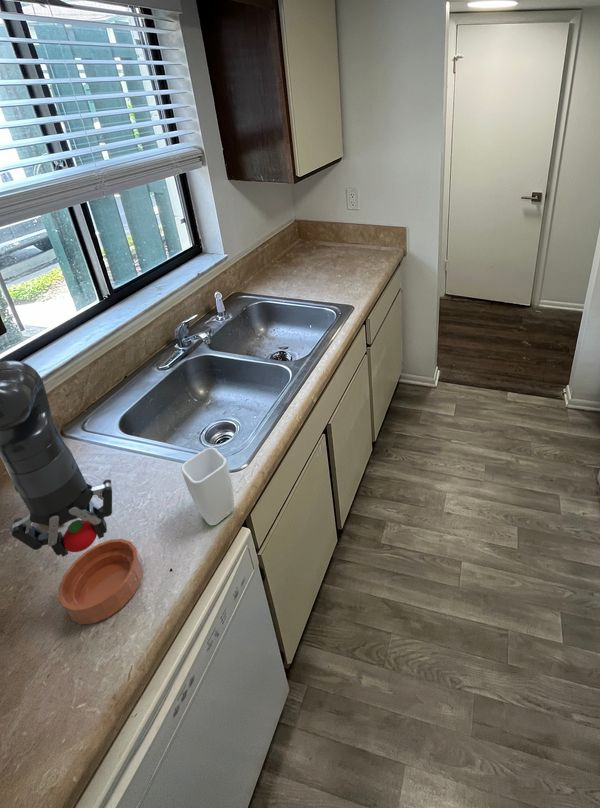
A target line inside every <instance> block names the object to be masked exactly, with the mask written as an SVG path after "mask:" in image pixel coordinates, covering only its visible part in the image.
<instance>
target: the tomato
mask: <svg viewBox="0 0 600 808" xmlns="http://www.w3.org/2000/svg"><path fill="white" fill-rule="evenodd" d="M97 537H98V536H97V534H96V532H95V530H94V528H93V524H92V523H90V522H89V521H83V520H82V519H75V520H74V521H72V522H71V523H70V524H69V525H68V526H67V529H66V530H65V532H64V534H63V545H64V547H65V549H67V550H68V552H71V553H79V552H82V551H85V550H86V549H88V548H89V547H90V546H92V544H94V542H95V540H96V538H97Z"/></svg>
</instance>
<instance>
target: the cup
mask: <svg viewBox="0 0 600 808" xmlns="http://www.w3.org/2000/svg"><path fill="white" fill-rule="evenodd" d="M229 469H230V468H229V466H228V461H227V459H226V457H225V456H224V455H222V454H221V452H220V451H219V450H217V448H215V447H212V446H211V447H207V448H205V449H203V450H201V451H200V452H198V453H196V454H195V455H194V456H192V457H191V458H189V459H187V460H186V461H185V462H184V463H182V465H181V467H180V471H181V473H182V477H183V479H184V482H185V486H186V488H187V490H188V492H189V494H190V497H191V499H192V501H193V503H194V505H195V507H196V509H197V510H198V512H199V514H200V516H201V517H202V518H203V519H204V521H205V522H206V523H207V524H208V525H209V526H216V525H218V524H219V523H220V522H221V521H222V520H224V519H225V518H226V517H228V516H229V515H230V514H232V513H233V512H234V510H235V497H234V496H235V495H234V488H233V487H234V486H233V482H232V477H231V473H230V470H229Z"/></svg>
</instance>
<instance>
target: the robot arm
mask: <svg viewBox="0 0 600 808" xmlns="http://www.w3.org/2000/svg"><path fill="white" fill-rule="evenodd" d="M50 408H51V407H50V403H49V398H48V395H47V390H46V386H45V383H44V381H43V379H42V377H41V375H40V374H39V372H38V371H37V370H36V369H35V368H34V367H33V366H31V365H30V364H28V363H25V362H23V361H20V360H19V361H18V360H4V361H0V460H1V461H2V463H3V464H5V465H4V467H5V466H6V467H5V469H6V468H7V469H6V471H7V470H8V471H9V474H10V476H9V478H10V477H11V478H10V480H11V483H12V485H13V487H14V489H15V491H16V492H17V493H18V495H19V496H20V497H21V500H22V501H23V503H24V505H25V507H26V508H27V509H28V511H29V514H28V515H26V516H25V517H24V518H23V517H17V518H14V520H13V522H12V528H11V536H12V537H14V538H15V539H17V540H18V541H20V542H21V543H23V544H25V545H26V546H28V547H29V548H31V549H33V550H34V551H36V550H40V549H41V548H42V547H43V546H46V545H48V546H49V547H50V548H51V549H52V551H53V553H54V554H55V555H56V556H58V557H59V556H60V555H61V557H65V556H67V555H69V551H68V550H67V549H65V547H64V545H63V537H64V534H63V533H62V531H59V527H62V526H64V525H63V524H65V523H67V522H68V521H69V522H70V521H73V520H77V519H79V520H83V521H89V522H90V523H92V524H93V528H94V530H95V532H96V534H97V536H96V537H98V539H99V540H101V539H103V538H105V534H107V531H108V527H107V522H106V520H105V518H107V517H110V516H111V515H112V514H113V485H112V479H105V480H104V481H102V484H99V485H95V486H93V485H91V484H89V483H87V482H86V480H85V477H84V475H83V473H82V471H81V469H80V467H79V464H78V462H77V461H76V459H75V457H74V455H73V453H72V451H71V449H70V448H69V447H68V445H67V444H66V443H65V441H64V440H63V437H62V435H61V434H60V433H61V432H60V431H59V428H58V427H57V426H56V424H55V422H54V420H53V417H52V412H51V409H50ZM8 471H7V472H8ZM9 474H8V475H9ZM93 496H96V497H97V499H99V500H102V506H100V507H98V506H97V505H95V504H94V503H93V501H92V498H93ZM69 522H68V523H69ZM33 523H34V524H38V525H45V526H48V531H47V532H43V531H42V530H41V529H39V528H38V527H36V526H34V525H33ZM68 523H67V524H68Z"/></svg>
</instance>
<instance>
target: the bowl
mask: <svg viewBox="0 0 600 808" xmlns="http://www.w3.org/2000/svg"><path fill="white" fill-rule="evenodd" d="M144 572H145V571H144V562H143V560H142V558H141V555H140V554H139V551H138V549H137V547H136V546H135V545H134V544H133V542H132V541H130V540H126V539H124V538H115V539H109V540H107V541H103V542H100V543H98V544H96V545H94V546H93V547H91V548H89V549H87V550H86V551H84V552H83V554H81V555H80V556H79V557H78V558H77V559H76V560H75V561H73V562H72V564H71V565H70V566H69V568H68V569H67V570H66V571H65V573H64V574H63V575H62V579H61V581H60V584H59V586H58V595H57V597H58V598H57V599H58V600H59V602H60V604H61V607H63V609H64V610H65V612H66V614H67V616H68V617H69V619H70V620H71V622H74V623H77V624H80V625H91V624H97V623H98V622H101V621H103V620H105V619H108V618H109V617H111V616H112V615H114V614H115V613H117V612H118V611H119V610H121V609H122V608H123V607H124V606H125V605H126V604H127V603H128V602H129V601H130V600H131V599H132V598H133V597H134V595H135V593H136V592H137V590H138V588H139V587H140V585H141V583H142V579H143V576H144Z"/></svg>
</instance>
